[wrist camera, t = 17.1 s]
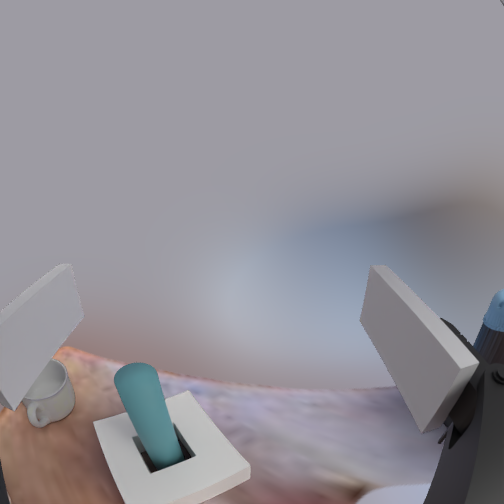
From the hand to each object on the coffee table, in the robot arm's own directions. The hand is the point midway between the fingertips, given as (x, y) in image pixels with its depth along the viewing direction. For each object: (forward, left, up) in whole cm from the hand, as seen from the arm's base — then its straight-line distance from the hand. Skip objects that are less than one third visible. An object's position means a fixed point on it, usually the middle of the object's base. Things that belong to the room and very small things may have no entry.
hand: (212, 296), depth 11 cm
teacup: (+28, +19, -32) cm, 47 cm away
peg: (+12, +3, -32) cm, 34 cm away
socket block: (+12, +3, -32) cm, 34 cm away
